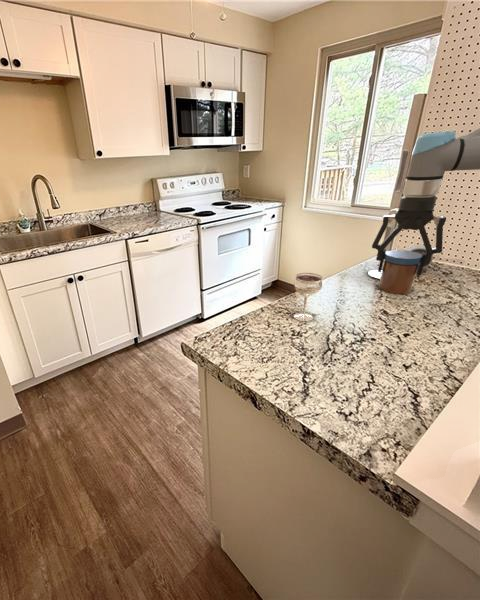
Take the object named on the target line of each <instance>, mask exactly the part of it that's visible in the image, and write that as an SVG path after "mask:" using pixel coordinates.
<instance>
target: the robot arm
mask: <svg viewBox="0 0 480 600" xmlns="http://www.w3.org/2000/svg"><path fill="white" fill-rule="evenodd" d="M456 136H457V132H456V131H455V130H447V131H437V132H435V131H434V132H426V133H422V134H420V135H419V136H418V137H417V138H416V141H415V145H414V146H413V150H412V152H411V158H410V160H409V161H410V162H409V165H408V169H407V175H406V179H405V181H404V186H403V189H402V195H403V196H402V197H401V198H400V202H399V206H398V210H397V212H395V214H391V215H390V214H389V215H388V214H384V215H383V218H382V224H381V226H380V228H379V230H378V233H377V234H376V236H375V238H374V240H373V242H372V244H371V248H372V249H375V250H377V254H376V257H375V258H376V259H375V260H376V261H379V265H378V268H377V270H378V272H381V270H383V266H384V262H385V260H384V257H385V253H386V252H387V249H386V248H387V246H389V244H390V243H391V242H392V241H393V240H394V239H395V237H396V236H398V234H399V233H401V232H402V231H403V230H404V231H405V230H406V231H407V230H413V231H419V234H420V237H421V239H422V242H423V246H425V248H426V251H427V252H423V253H422V259H421V262H420V263H419V267H418V270H417V271H416V276H417V277H421V275H422V272H423V266H424V265H428V264H429V263H430V260H431V256H432V255H434V254H441V253H443V239H444V238H443V236H444V235H443V234H444V231H443V230H444V226H445V223H446V221H447V218H446V216H444V215H441V216H438V215H434V210H435V206H436V202H437V199H438V197H437V196H436V195H438V194H439V192H440V189H441V186H442V182H443V179H444V175H445V173H446V172H453V171H477V170H478V171H479V170H480V127H478V128H477V129H475V130H472V131H471V132H470V133H468V134H465V135H461V136H459V137H456ZM393 220H395V222H396V223H397V225H396V226H395V227H394V229H393V230H392V231H391V232H390V233H389V235H388V236H387V237H386V238H385V239H384V240H383V241H382V242H381V244H379V243H380V241H381V239H382V238H383V236H384V234H385V231H386V230H387V227H388V225H389V224H391V223H392V221H393ZM431 221H433V223H434V225H435V247H432V245H431V241H430V239H429V236H428V233H427V230H426V225H428V224H430V222H431Z"/></svg>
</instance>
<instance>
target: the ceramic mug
mask: <svg viewBox="0 0 480 600" xmlns="http://www.w3.org/2000/svg"><path fill="white" fill-rule="evenodd" d="M406 250H407V251H413V252H417V253H420V254H421V255H422V253H423V252H427V251H426V248H425V246H424V244H413V245H411V246H409V247H408V248H407V249H406ZM433 255H434V254H433ZM433 255H432V256H431V260H430V263H429V264H428V265H424V266H423V269H426V268H428V267H429V266H430V265H431V264H432V262H433V259H434V256H433ZM418 267H419V264H418ZM423 269H422V270H423ZM417 270H418V268H417Z"/></svg>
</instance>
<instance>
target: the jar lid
mask: <svg viewBox="0 0 480 600" xmlns="http://www.w3.org/2000/svg"><path fill="white" fill-rule="evenodd" d="M421 259H422V255H421V254H420V253H417V252H413V251H407V249H406V250H405V249H392V250H386V253H385V257H384V261H385V260H386V261H388V262H391V263H395V264H403V265H413V264H419V263H420V262H421Z"/></svg>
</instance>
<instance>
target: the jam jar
mask: <svg viewBox="0 0 480 600" xmlns="http://www.w3.org/2000/svg"><path fill="white" fill-rule="evenodd" d="M417 268H418V264H413V265H403V264H395V263H391V262H388V261H386V260H384V261H383V265H382V269H381V270H382V274H381V278H380V280H379V283H378V286H377V287H378V289H379V290H381V291H383V292H386V293H389V294H395V295H404V294H409V293H410V292H411V291H412V288H413V284H414V281H415V277H416V275H417Z"/></svg>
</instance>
